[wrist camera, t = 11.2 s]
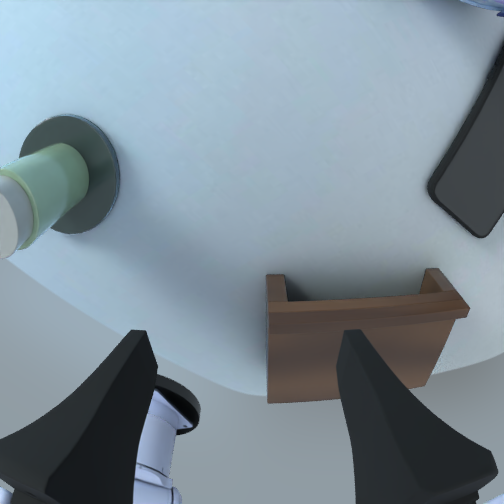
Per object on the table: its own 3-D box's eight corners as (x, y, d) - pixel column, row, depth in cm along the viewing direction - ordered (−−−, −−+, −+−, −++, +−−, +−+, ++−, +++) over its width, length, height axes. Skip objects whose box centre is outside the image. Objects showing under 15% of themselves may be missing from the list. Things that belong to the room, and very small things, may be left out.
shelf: (410, 353, 26) (428, 395, 21) (266, 365, 26) (268, 414, 21) (438, 267, 21) (470, 307, 17) (265, 274, 22) (269, 324, 17)
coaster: (58, 246, 21) (54, 250, 20) (7, 155, 17) (2, 157, 17) (142, 200, 19) (138, 203, 19) (84, 89, 16) (80, 90, 15)
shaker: (56, 218, 19) (-7, 275, 13) (26, 164, 17) (-47, 205, 11) (101, 190, 18) (38, 244, 12) (69, 129, 16) (-9, 159, 10)
